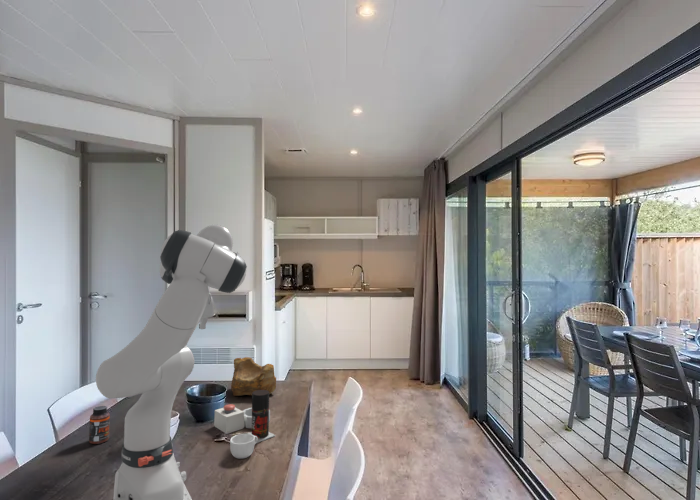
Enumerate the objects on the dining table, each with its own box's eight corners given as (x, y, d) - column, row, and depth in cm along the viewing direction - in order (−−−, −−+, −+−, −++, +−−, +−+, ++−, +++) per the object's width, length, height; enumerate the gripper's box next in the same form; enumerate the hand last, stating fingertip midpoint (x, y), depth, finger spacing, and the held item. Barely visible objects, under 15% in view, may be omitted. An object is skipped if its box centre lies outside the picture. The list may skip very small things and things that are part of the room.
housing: (274, 422, 159) (274, 407, 159) (231, 437, 146) (231, 420, 146) (256, 413, 168) (256, 398, 168) (214, 426, 155) (214, 410, 155)
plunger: (236, 421, 155) (236, 406, 155) (226, 425, 152) (227, 409, 152) (231, 418, 157) (231, 403, 158) (221, 421, 155) (221, 406, 155)
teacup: (239, 464, 128) (240, 446, 128) (224, 456, 133) (225, 439, 133) (264, 452, 136) (265, 435, 136) (249, 445, 141) (250, 429, 141)
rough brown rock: (215, 396, 190) (215, 364, 189) (242, 383, 204) (241, 353, 203) (254, 407, 179) (254, 373, 177) (279, 393, 193) (279, 361, 192)
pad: (275, 436, 148) (275, 435, 148) (255, 443, 142) (255, 442, 142) (262, 429, 153) (262, 428, 153) (243, 435, 148) (243, 434, 148)
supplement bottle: (99, 445, 139) (100, 411, 139) (84, 443, 140) (85, 410, 140) (113, 438, 144) (114, 405, 144) (98, 436, 146) (99, 403, 146)
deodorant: (247, 436, 146) (248, 393, 146) (258, 430, 151) (258, 388, 152) (262, 440, 144) (262, 396, 144) (271, 433, 149) (272, 391, 149)
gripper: (218, 291, 149) (218, 330, 149) (193, 287, 163) (192, 322, 163) (201, 292, 144) (201, 332, 144) (177, 288, 159) (176, 324, 159)
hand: (196, 327), depth 154 cm, fingers open, 8 cm apart
